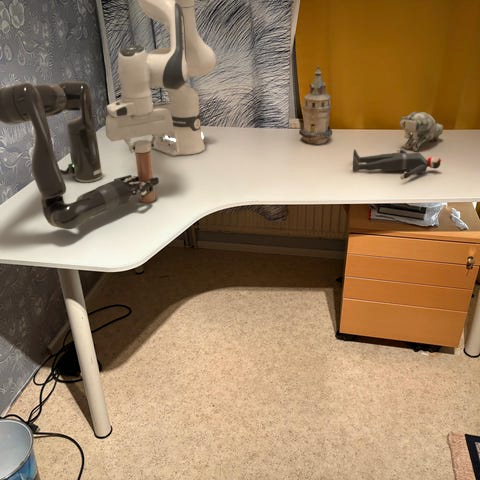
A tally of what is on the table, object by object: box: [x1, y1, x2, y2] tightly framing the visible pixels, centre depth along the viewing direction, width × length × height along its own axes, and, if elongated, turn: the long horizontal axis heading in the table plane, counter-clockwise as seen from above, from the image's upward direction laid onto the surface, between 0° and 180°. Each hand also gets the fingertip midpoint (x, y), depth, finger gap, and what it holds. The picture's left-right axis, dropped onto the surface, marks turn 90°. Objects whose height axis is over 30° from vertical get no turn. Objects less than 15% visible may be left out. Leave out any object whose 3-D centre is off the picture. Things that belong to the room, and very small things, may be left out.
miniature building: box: [298, 65, 333, 145], centre depth 213 cm, size 13×14×30 cm
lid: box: [132, 139, 152, 153], centre depth 164 cm, size 5×5×2 cm
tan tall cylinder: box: [134, 150, 156, 204], centre depth 168 cm, size 5×5×18 cm
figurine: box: [399, 111, 444, 152], centre depth 210 cm, size 10×19×20 cm
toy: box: [352, 148, 442, 180], centre depth 190 cm, size 26×6×30 cm
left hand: (152, 178), depth 171 cm, fingers closed on tan tall cylinder, 4 cm apart
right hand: (142, 149), depth 164 cm, fingers closed on lid, 5 cm apart
